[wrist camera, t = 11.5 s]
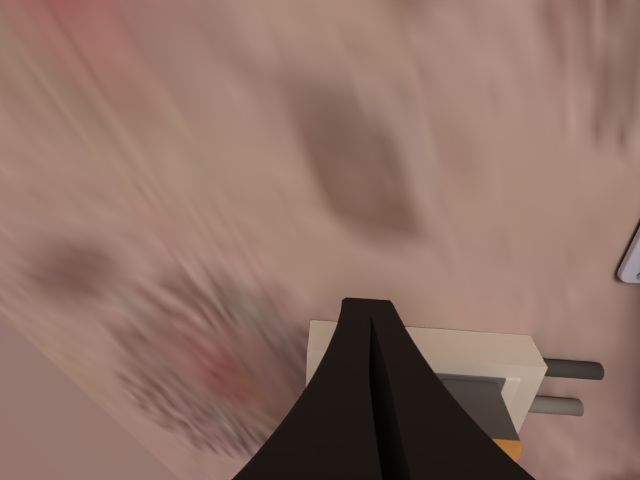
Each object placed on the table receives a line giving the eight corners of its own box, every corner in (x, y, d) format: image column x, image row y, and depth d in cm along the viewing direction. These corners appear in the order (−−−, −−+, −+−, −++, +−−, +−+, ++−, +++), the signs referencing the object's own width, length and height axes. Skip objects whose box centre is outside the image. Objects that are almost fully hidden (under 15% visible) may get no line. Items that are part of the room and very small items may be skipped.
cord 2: (577, 395, 26) (585, 409, 26) (572, 406, 27) (579, 419, 26) (499, 390, 27) (505, 403, 26) (496, 400, 27) (500, 413, 26)
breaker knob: (496, 382, 23) (523, 448, 19) (477, 433, 25) (498, 501, 21) (442, 378, 23) (458, 443, 19) (427, 430, 25) (440, 496, 22)
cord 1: (597, 359, 25) (606, 371, 24) (591, 370, 25) (599, 383, 24) (514, 353, 25) (520, 365, 24) (509, 364, 25) (515, 377, 25)
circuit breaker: (529, 335, 24) (549, 370, 22) (495, 422, 28) (508, 459, 26) (310, 320, 25) (307, 352, 22) (307, 408, 29) (303, 443, 26)
